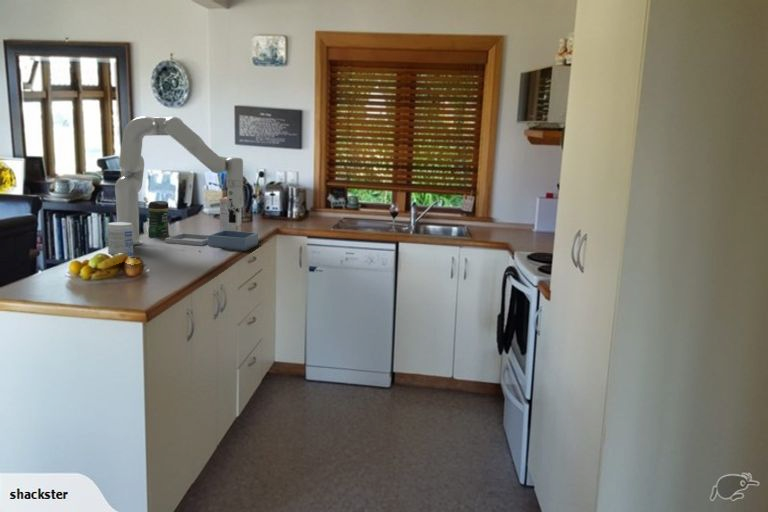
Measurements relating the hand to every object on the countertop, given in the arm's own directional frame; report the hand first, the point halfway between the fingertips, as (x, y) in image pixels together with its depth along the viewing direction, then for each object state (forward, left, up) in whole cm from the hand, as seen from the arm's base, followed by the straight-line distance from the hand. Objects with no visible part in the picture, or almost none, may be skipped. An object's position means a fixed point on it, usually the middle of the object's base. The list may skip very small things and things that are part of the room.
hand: (234, 221), depth 292 cm
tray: (-1, +21, -12) cm, 24 cm away
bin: (0, 0, -12) cm, 12 cm away
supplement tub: (-46, +31, -12) cm, 57 cm away
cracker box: (+24, +12, -12) cm, 30 cm away
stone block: (0, 0, -1) cm, 1 cm away
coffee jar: (+6, +41, -12) cm, 44 cm away
